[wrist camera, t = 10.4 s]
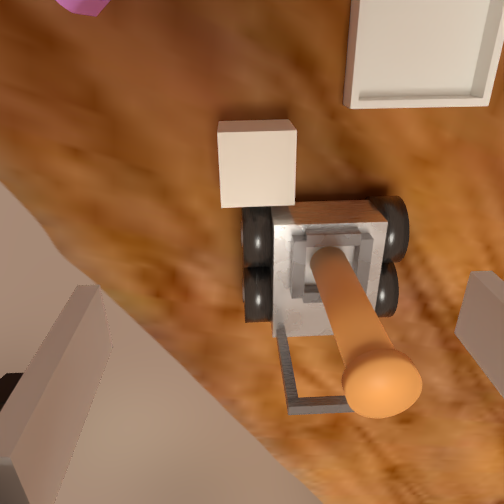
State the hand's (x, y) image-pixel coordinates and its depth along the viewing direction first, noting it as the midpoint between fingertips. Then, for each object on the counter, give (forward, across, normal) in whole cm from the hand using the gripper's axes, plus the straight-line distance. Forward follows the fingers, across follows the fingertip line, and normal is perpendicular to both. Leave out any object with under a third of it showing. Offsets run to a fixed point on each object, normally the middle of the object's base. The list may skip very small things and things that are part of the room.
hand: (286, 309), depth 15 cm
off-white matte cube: (+24, 0, -1) cm, 25 cm away
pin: (+17, +6, -8) cm, 20 cm away
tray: (+24, +13, +9) cm, 29 cm away
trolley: (+24, +6, -10) cm, 27 cm away
